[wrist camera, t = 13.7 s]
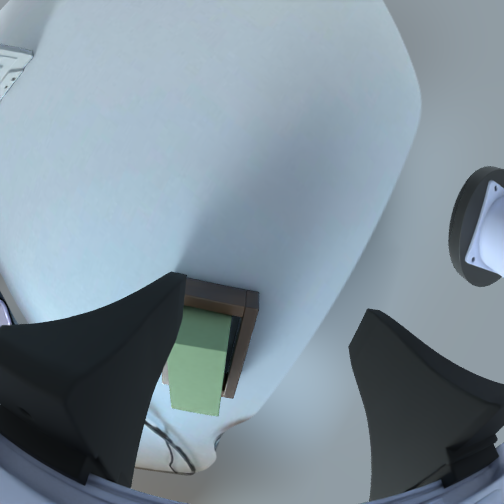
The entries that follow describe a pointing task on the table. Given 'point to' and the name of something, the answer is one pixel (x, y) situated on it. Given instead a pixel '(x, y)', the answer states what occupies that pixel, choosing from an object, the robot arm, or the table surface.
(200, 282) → the mounting base
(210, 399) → the block
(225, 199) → the table surface
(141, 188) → the table surface
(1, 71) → the cassette
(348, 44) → the table surface
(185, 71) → the table surface
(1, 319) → the mobile phone
